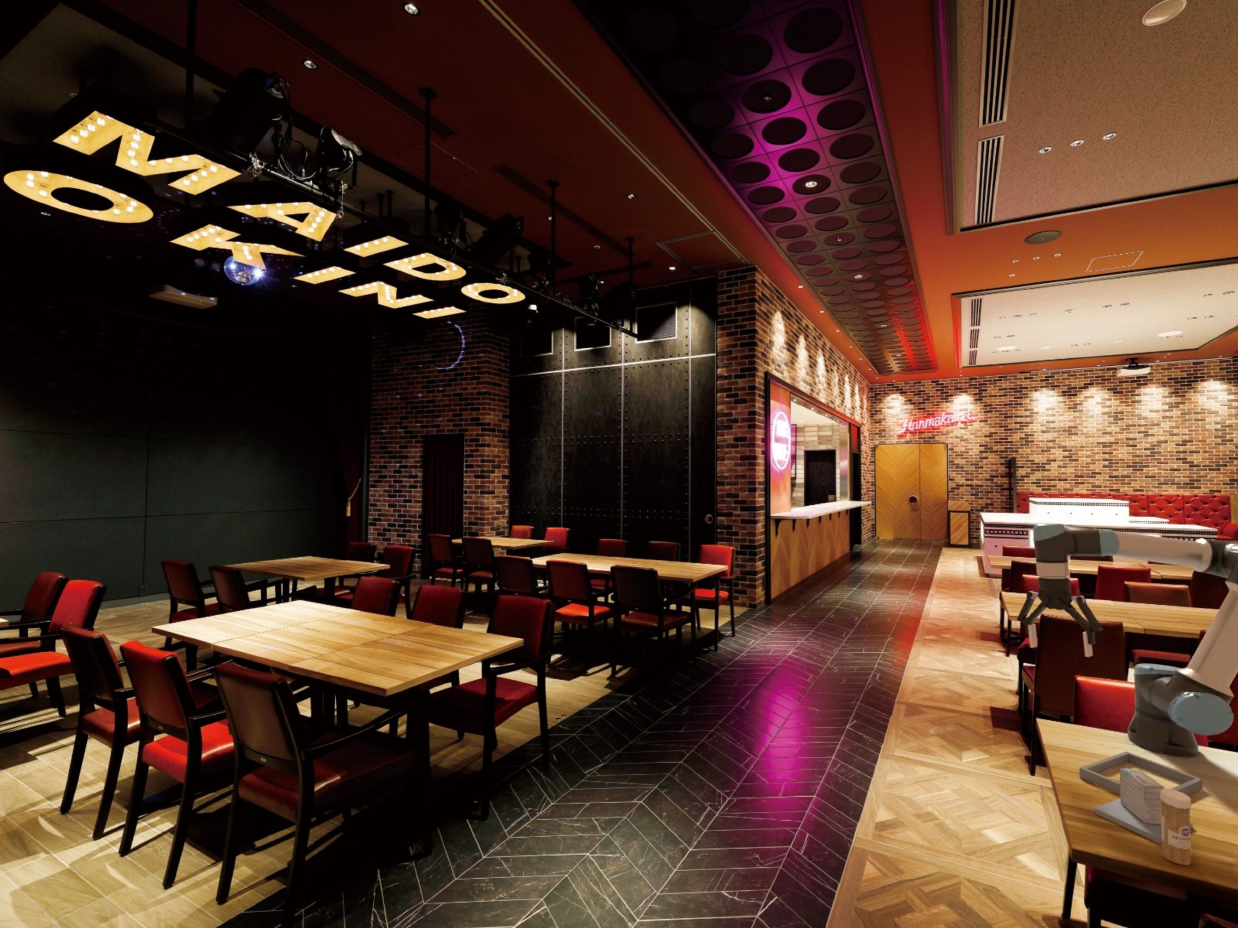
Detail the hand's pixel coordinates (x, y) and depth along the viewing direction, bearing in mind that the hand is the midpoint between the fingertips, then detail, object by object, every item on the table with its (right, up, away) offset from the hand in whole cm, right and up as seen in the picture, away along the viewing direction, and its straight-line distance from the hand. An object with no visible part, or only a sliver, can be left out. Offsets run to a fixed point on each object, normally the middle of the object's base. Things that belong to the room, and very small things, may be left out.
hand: (1060, 651), depth 165 cm
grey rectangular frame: (+7, -29, -17) cm, 34 cm away
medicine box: (-6, -27, -33) cm, 43 cm away
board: (-6, -28, -33) cm, 44 cm away
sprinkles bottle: (-12, -28, -46) cm, 55 cm away
